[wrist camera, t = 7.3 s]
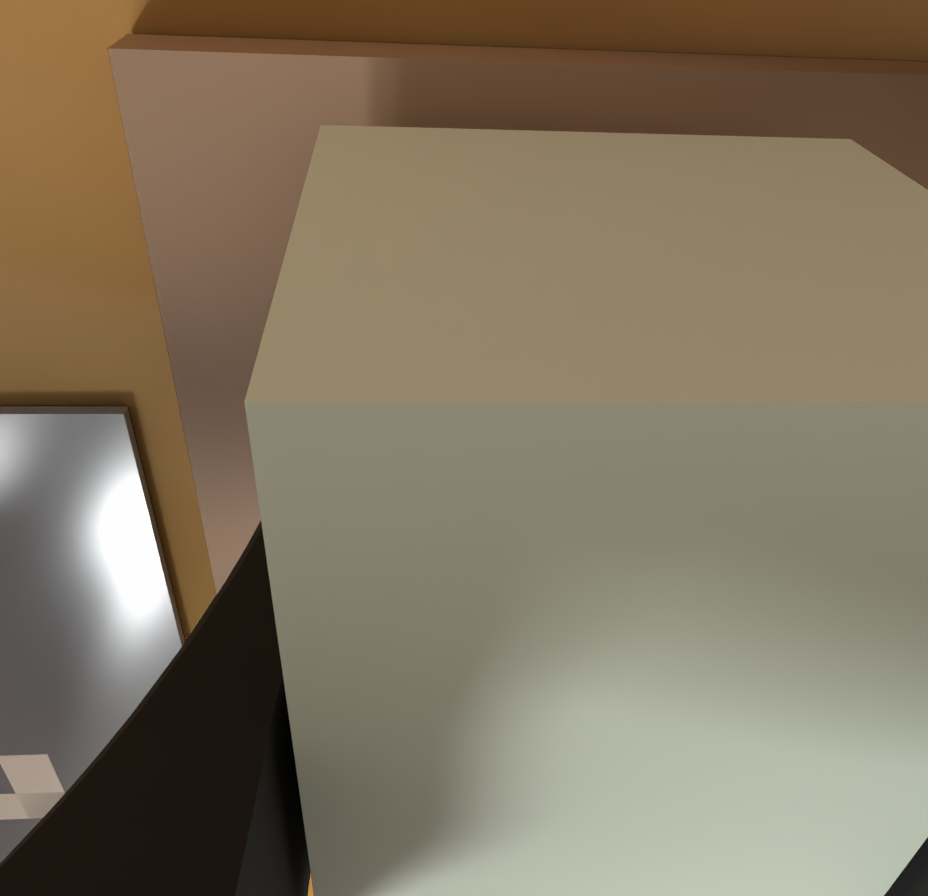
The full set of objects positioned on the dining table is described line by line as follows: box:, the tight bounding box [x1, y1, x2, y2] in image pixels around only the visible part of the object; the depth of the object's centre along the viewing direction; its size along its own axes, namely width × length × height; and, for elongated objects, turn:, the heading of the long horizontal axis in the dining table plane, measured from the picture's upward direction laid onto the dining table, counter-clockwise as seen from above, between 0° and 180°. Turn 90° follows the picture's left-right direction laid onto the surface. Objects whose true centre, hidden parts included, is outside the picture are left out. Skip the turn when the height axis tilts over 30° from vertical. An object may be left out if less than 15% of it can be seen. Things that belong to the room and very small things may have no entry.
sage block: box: [244, 125, 928, 896], centre depth 9 cm, size 9×6×5 cm, turn 177°
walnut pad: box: [107, 34, 928, 595], centre depth 12 cm, size 10×10×1 cm
